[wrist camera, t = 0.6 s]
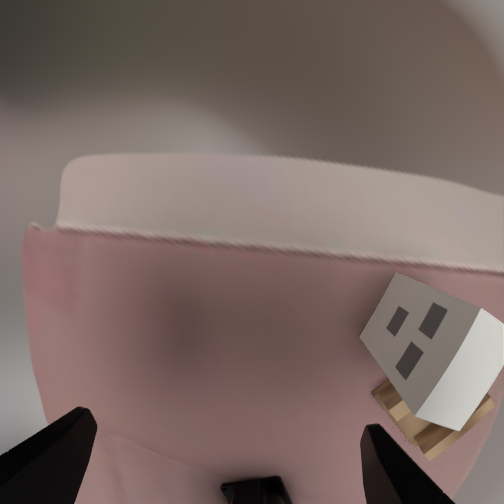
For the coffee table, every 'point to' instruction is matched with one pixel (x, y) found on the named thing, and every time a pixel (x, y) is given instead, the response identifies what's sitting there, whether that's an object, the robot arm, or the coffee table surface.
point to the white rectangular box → (435, 350)
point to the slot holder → (422, 431)
